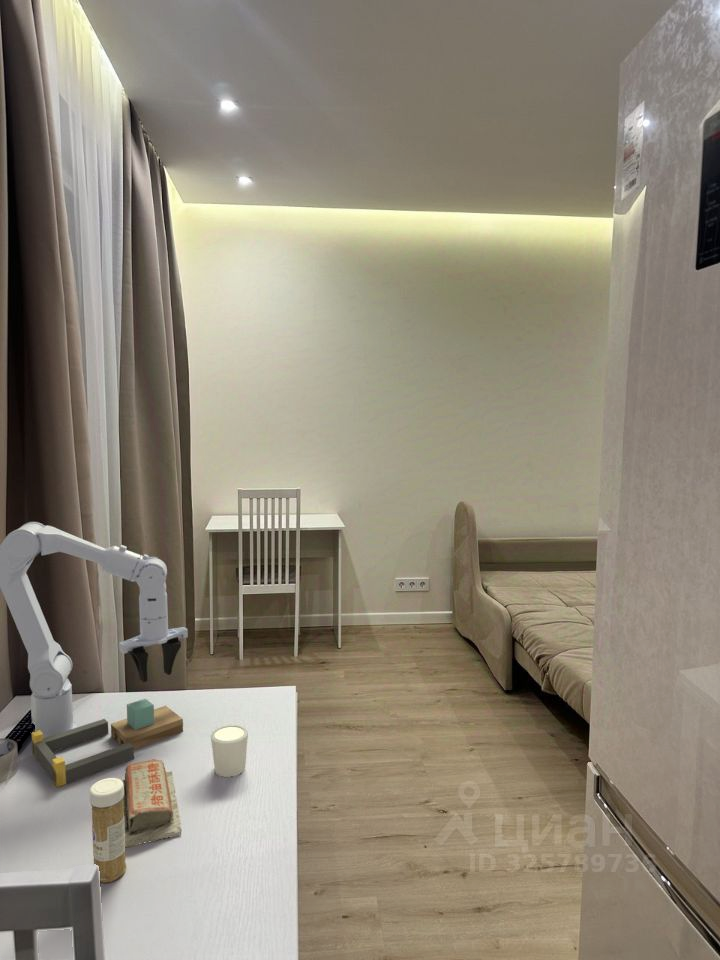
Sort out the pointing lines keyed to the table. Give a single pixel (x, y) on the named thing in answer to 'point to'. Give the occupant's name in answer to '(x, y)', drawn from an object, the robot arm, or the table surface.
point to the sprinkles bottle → (108, 828)
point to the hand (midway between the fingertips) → (155, 676)
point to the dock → (82, 767)
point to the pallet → (148, 729)
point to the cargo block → (140, 714)
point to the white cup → (229, 750)
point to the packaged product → (149, 803)
